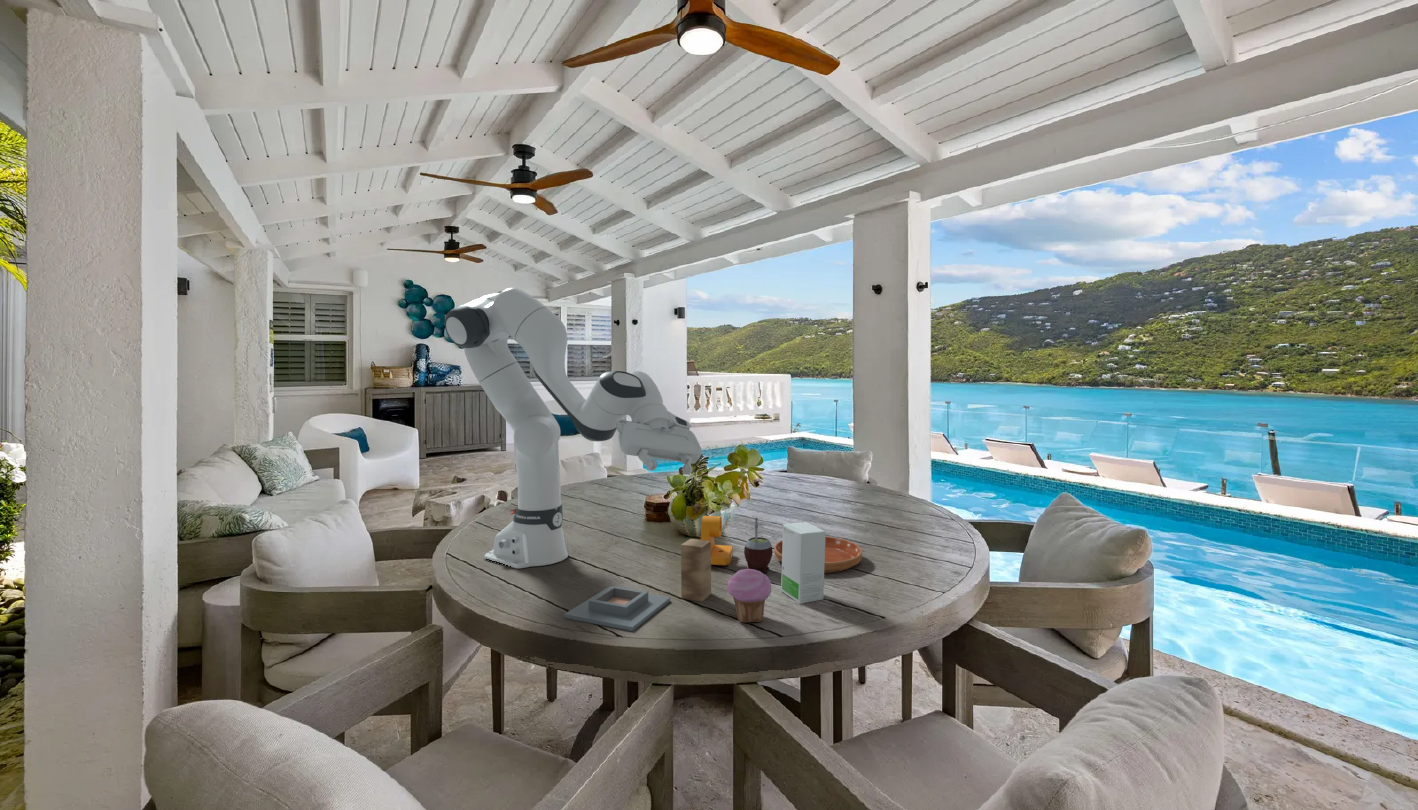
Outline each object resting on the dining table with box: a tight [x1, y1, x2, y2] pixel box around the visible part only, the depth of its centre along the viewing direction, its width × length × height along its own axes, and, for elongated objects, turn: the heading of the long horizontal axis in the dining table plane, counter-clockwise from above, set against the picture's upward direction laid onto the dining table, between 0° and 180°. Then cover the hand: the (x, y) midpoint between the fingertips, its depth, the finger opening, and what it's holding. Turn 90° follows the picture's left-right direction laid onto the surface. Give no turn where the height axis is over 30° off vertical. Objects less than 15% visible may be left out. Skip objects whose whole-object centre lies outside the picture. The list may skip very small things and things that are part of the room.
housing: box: [564, 585, 671, 632], centre depth 121 cm, size 16×16×3 cm
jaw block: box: [680, 538, 712, 602], centre depth 128 cm, size 5×5×12 cm
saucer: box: [773, 535, 863, 574], centre depth 152 cm, size 23×23×4 cm
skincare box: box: [780, 521, 827, 605], centre depth 127 cm, size 8×7×16 cm
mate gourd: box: [743, 517, 774, 576], centre depth 143 cm, size 8×8×15 cm
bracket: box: [700, 515, 733, 566], centre depth 152 cm, size 11×7×12 cm, turn 171°
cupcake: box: [727, 568, 772, 623], centre depth 115 cm, size 9×9×10 cm
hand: (670, 470), depth 125 cm, fingers open, 8 cm apart
